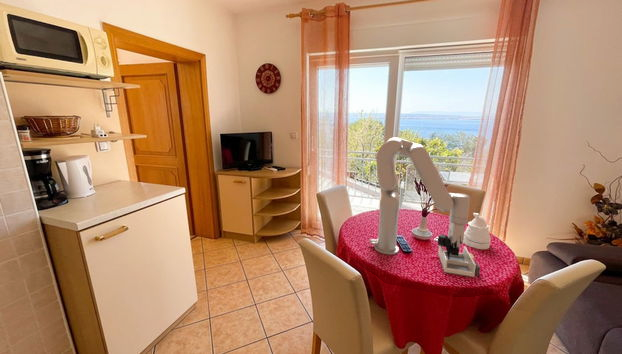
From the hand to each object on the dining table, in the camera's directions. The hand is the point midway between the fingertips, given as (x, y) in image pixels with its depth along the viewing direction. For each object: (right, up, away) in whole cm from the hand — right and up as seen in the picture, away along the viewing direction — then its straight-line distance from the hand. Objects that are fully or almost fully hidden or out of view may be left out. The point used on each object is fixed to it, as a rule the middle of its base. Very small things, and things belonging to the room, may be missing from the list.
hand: (454, 253), depth 124 cm
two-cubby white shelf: (-2, -4, -3) cm, 6 cm away
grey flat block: (+4, -6, -10) cm, 12 cm away
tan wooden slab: (+7, -4, -2) cm, 8 cm away
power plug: (-4, -3, +3) cm, 6 cm away
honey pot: (+23, 0, +18) cm, 29 cm away
